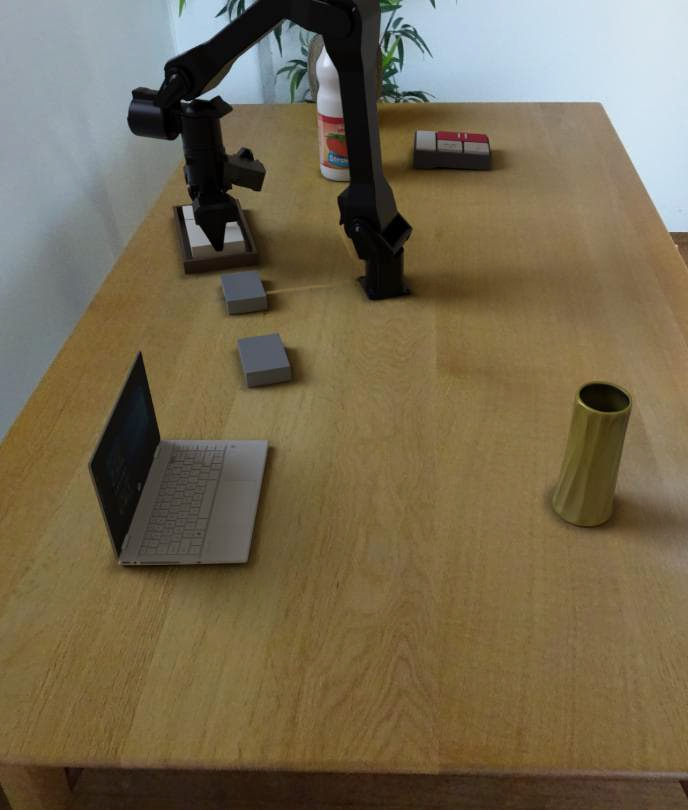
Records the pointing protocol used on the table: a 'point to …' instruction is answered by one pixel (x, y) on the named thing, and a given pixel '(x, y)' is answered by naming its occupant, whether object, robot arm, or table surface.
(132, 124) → the robot arm
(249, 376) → the gray flat block
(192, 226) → the white notebook
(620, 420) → the vase
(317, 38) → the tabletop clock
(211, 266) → the book tray
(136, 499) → the laptop
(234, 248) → the white flat block
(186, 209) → the white notebook
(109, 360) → the table surface
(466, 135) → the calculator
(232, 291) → the grey rectangular block
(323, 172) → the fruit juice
